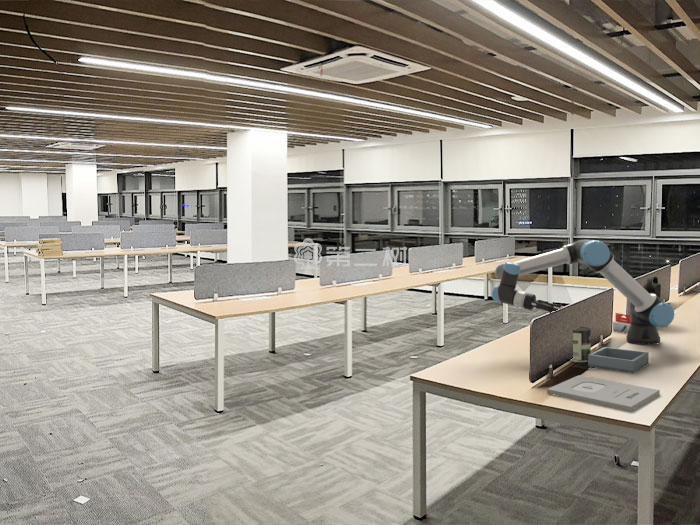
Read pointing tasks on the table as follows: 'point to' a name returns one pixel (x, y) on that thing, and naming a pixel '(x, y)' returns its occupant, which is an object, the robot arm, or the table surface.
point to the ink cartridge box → (621, 323)
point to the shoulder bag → (652, 286)
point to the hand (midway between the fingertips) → (571, 312)
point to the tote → (618, 359)
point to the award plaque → (604, 392)
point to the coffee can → (581, 344)
